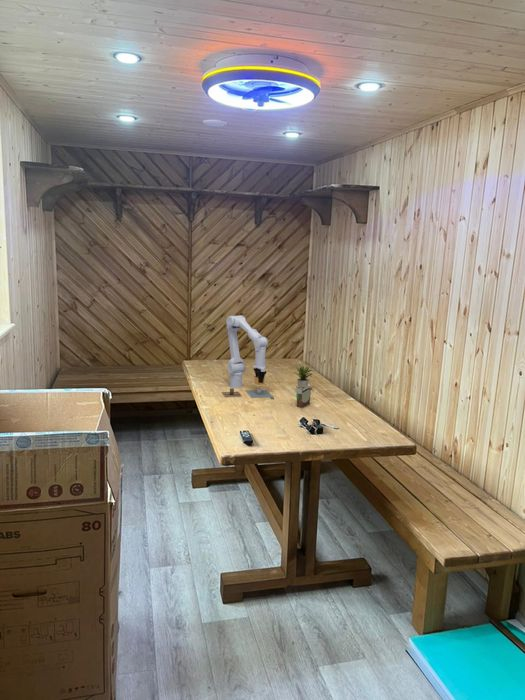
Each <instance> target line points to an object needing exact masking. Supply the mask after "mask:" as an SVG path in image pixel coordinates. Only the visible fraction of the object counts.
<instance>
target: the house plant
mask: <svg viewBox="0 0 525 700" xmlns="http://www.w3.org/2000/svg"><path fill="white" fill-rule="evenodd" d="M298 365H299V366H298V367H296V366H295V368H296V370H297V371H298V373H297V372H294V375H297V376H298V378H297V387H299V386H309V382H310V380H309V379H308V377H309V376H310V377H312V375H313V371H315V370H314V368H316V367H310V365H309V363H307V364H306V366H305V367H304V364H303V363H302V364H298ZM310 372H311V373H310ZM312 378H313V377H312Z"/></svg>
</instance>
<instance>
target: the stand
mask: <svg viewBox="0 0 525 700" xmlns="http://www.w3.org/2000/svg"><path fill="white" fill-rule="evenodd" d="M221 394H222V395H223V397H224V398H243V396H242V394H241V393H240V392H239V391H235V388H232V387H230V388H229V391H223V392H222V391H221Z"/></svg>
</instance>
